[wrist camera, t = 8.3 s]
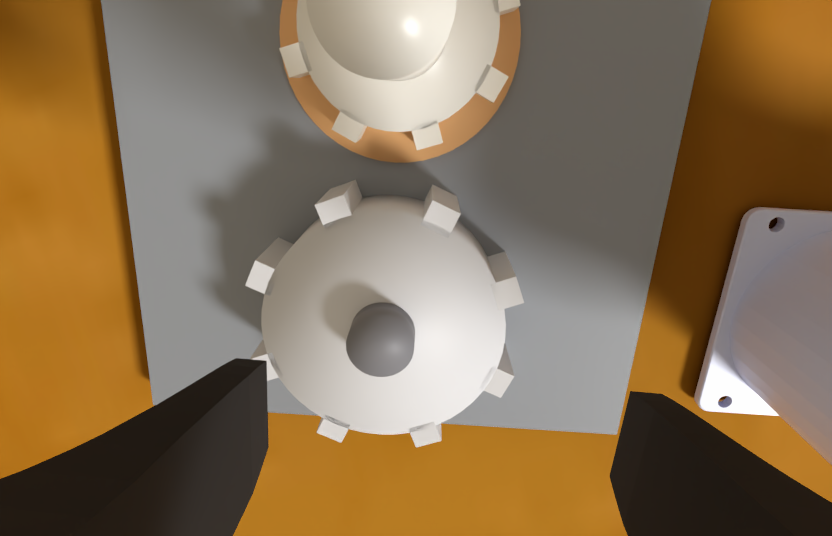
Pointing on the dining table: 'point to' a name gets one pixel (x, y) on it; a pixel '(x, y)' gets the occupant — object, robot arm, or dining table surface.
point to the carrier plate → (507, 177)
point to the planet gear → (398, 60)
